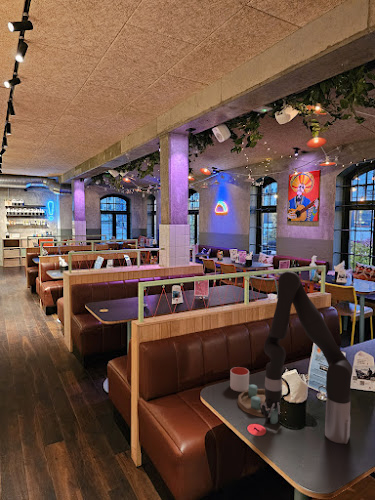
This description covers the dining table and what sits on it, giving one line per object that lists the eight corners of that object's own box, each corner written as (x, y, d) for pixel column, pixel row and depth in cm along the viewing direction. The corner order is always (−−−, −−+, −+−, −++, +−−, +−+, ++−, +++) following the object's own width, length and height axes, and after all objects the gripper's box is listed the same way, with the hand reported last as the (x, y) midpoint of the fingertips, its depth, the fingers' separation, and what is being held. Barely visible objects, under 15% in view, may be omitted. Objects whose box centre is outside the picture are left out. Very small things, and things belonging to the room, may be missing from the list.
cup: (226, 387, 188) (226, 370, 187) (239, 382, 194) (239, 365, 193) (239, 395, 180) (240, 377, 179) (252, 389, 186) (253, 371, 186)
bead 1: (258, 396, 178) (258, 385, 177) (254, 399, 174) (255, 389, 174) (250, 393, 180) (250, 383, 180) (246, 397, 177) (247, 387, 176)
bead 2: (261, 408, 166) (261, 398, 165) (258, 413, 162) (258, 402, 162) (253, 406, 168) (253, 395, 168) (249, 410, 165) (249, 399, 164)
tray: (291, 401, 174) (291, 396, 174) (275, 424, 155) (275, 418, 155) (249, 389, 187) (249, 383, 187) (229, 408, 168) (229, 402, 168)
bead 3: (278, 422, 157) (279, 410, 156) (275, 427, 153) (275, 415, 153) (269, 419, 159) (269, 407, 159) (266, 423, 156) (266, 412, 155)
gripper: (280, 379, 161) (279, 414, 163) (255, 386, 155) (254, 422, 157) (291, 386, 154) (290, 422, 156) (266, 393, 148) (265, 431, 150)
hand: (272, 422), depth 156 cm, fingers closed on bead 3, 4 cm apart
